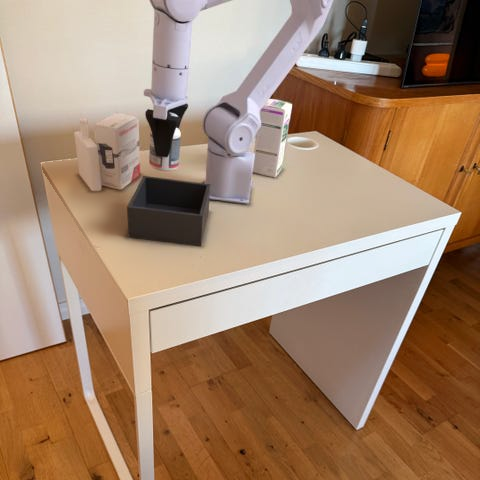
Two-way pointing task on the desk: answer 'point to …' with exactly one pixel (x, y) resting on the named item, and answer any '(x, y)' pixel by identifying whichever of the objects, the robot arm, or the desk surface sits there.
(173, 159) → the pill bottle
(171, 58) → the robot arm
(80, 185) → the desk surface
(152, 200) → the dark grey open box
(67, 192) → the desk surface
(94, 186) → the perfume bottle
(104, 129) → the ink box
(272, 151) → the syrup box
